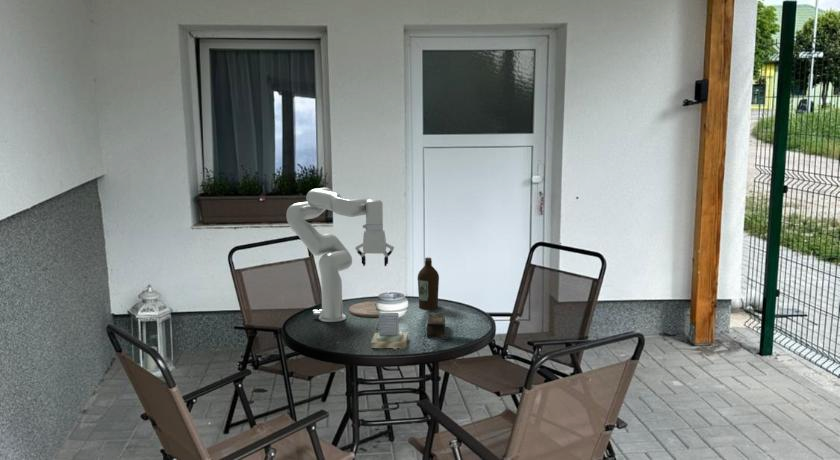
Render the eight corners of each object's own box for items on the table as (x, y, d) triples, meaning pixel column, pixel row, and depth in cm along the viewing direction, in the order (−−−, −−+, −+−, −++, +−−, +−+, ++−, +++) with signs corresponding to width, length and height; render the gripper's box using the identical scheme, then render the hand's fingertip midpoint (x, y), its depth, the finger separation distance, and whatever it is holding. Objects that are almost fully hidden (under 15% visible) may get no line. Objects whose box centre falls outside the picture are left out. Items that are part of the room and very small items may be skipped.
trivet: (339, 310, 363) (339, 306, 363) (381, 302, 378) (381, 299, 377) (366, 321, 343) (366, 317, 343) (410, 312, 358) (410, 308, 358)
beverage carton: (445, 325, 334) (445, 311, 333) (444, 338, 315) (445, 323, 314) (427, 325, 335) (427, 311, 334) (426, 338, 316) (426, 323, 315)
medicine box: (398, 333, 309) (398, 313, 307) (397, 336, 304) (397, 315, 303) (380, 332, 309) (380, 312, 308) (378, 335, 305) (378, 315, 304)
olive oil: (428, 303, 374) (428, 255, 370) (443, 307, 367) (443, 257, 363) (413, 307, 367) (413, 258, 363) (428, 311, 359) (428, 260, 356)
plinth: (371, 348, 301) (371, 339, 300) (375, 338, 315) (375, 329, 314) (405, 349, 300) (405, 339, 299) (407, 338, 314) (407, 329, 313)
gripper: (353, 228, 323) (354, 266, 325) (392, 229, 322) (393, 267, 324) (356, 226, 330) (357, 263, 333) (394, 226, 329) (394, 264, 332)
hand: (374, 265), depth 328 cm, fingers open, 9 cm apart
